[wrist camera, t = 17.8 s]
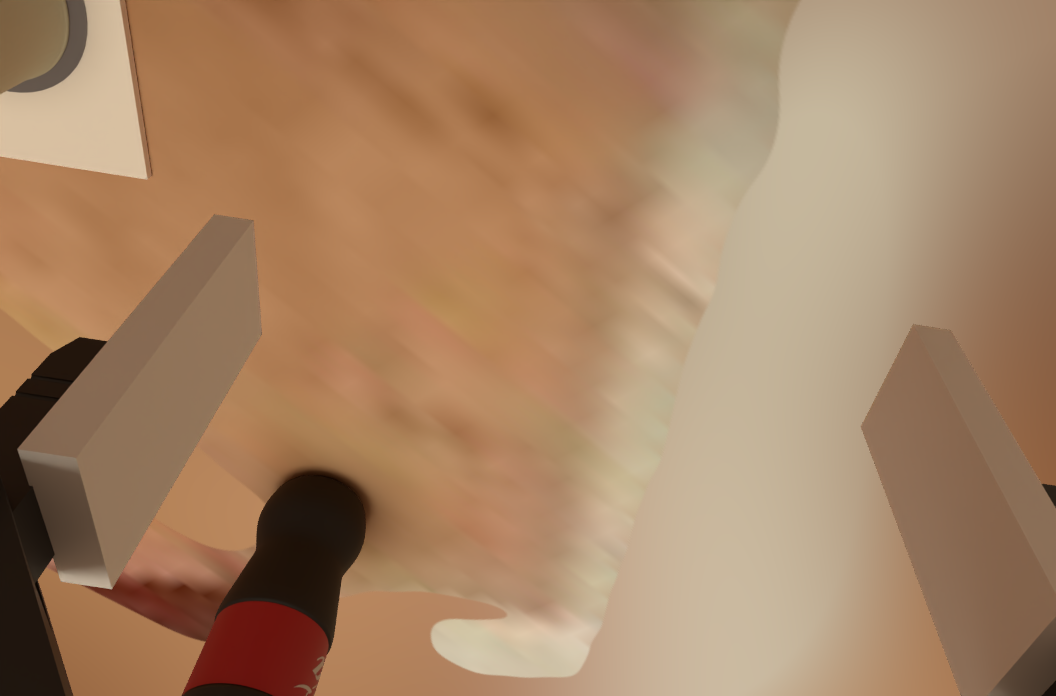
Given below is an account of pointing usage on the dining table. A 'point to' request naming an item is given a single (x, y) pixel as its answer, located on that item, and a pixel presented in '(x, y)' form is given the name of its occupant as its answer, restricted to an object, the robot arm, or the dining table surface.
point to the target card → (82, 100)
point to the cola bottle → (284, 595)
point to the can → (31, 39)
